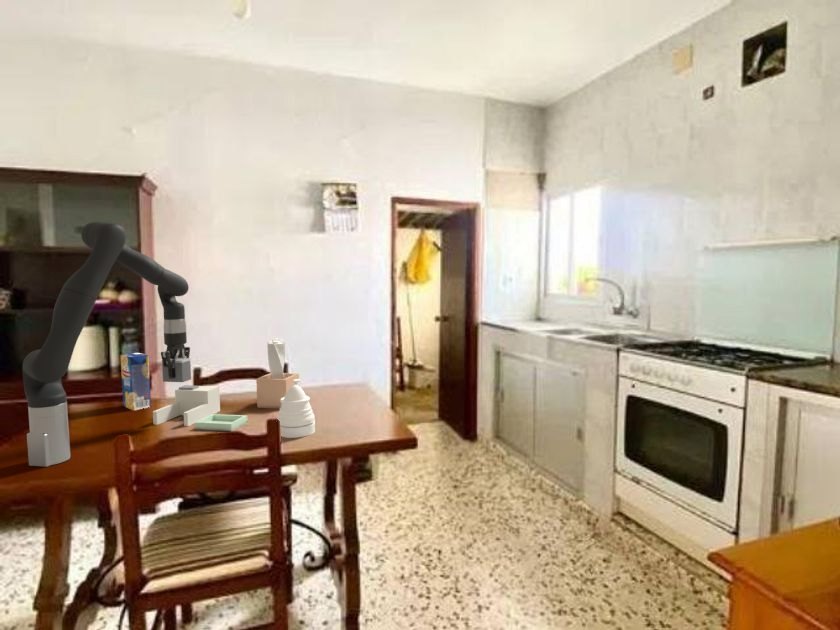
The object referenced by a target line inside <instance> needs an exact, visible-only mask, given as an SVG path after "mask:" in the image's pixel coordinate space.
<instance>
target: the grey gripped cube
mask: <svg viewBox="0 0 840 630" xmlns="http://www.w3.org/2000/svg"><path fill="white" fill-rule="evenodd" d="M171 360H173V359H171ZM191 361H192V360H191V358H190V357H189V358H184V359H181V358H178V359H177V360H176V362H175V378H169V376H168V368H166V367H164V366H163V361H162V360H161V366H162V368H161V369H162V382H163V383H164V382H165V383H185V382H188V381H190V380H192V370H191V369H192V368H191ZM167 363H168V362H166V364H167ZM171 364H172V362H171Z"/></svg>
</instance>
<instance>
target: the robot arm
mask: <svg viewBox="0 0 840 630" xmlns="http://www.w3.org/2000/svg"><path fill="white" fill-rule="evenodd" d="M80 235H81V240H82V242H83V243H84V245H85V246H86V247H88V249H91V252H90V254H89V257H88V258H87V260H86V261H85V262H84V263H83V265H82V266H81V267H79V269H78V270H76V271H75V272H74V273H73V274H72V275H70V277H69V278H68V279H67V281H65V283H64V285H63V286H62V288H61V291H60V292H59V295H58V296H57V298H56V301H55V304H54V308H53V313H52V320H51V327H50V330H49V333H48V335H47V338H46V340H45V342H44V343H43V346H42V347H41V349H36V350H33V351H30V352H29V353H28V354H27V355H26V356H25V358H24V359H23V361H22V380H23V388H24V389H23V390H24V394H25V398H26V400H27V409H28V422H29V423H28V425H29V432H28V433H26V443H27V456H28V466H31V467H33V466H34V467H50V466H53V465H57V464H61V463H63V462H66V461H68V460H70V458H71V446H70V445H71V444H70V443H71V442H70V429H69V416H68V414H69V412H68V401H67V392H66V391H65V389H64V386H63V383H62V382H63V381H62V377H64V376H65V374H66V373H67V371H68V369H69V366H70V363H71V360H72V357H73V354H74V351H75V347H76V344H77V342H78V339H79V337H80V336H81V333H82V331H83V329H84V327H85V325H86V323H87V321H88V319H89V316H90V314H91V312H92V311H93V308H94V306H95V304H96V302H97V299H98V297H99V295H100V292H101V290H102V287H103V285H104V283H105V282H106V280H107V277H108V275H109V273H110V271H111V269H112V267H113V265H114V264H115V262H118V263H120V264H121V265H122V266H124V267H126V268H128V269H129V270H130V271H132V272H134V273H135V274H136V275H138V276H139V277H141V278H142V279H143V280H145V281H147V282H148V283H149V284H152V285H154V286H157V293H158V296H159V297H158V298H159V299H160V302H161V305H162V308H163V326H162V327H163V344H164V345H165V346H166V350H165V351H161V352H160V356H161V362H162V361H163V366H164V367H166V368H168V376H169V378H175V362H176V360H177V359H178V358H181V359H184V358H190V354H191V353H190V352H191V347H190V346H185V344H187V343H188V342H187V341H188V340H187V339H188V338H187V324H186V323H187V322H186V316H185V315H186V313H185V312H186V310H185V305H184V304H183V303H181V302H179V301H177V299H176V297H183V296H184V295H186V294H187V293H188V292H189V284H188V281H187V280H186V279H185V278H184V277H182V276H181V275H180V274H177V273H176V272H174V271H171V270H170V269H166V268H165V267H163V266H162V265H161V264H159V263H158V262H156V260H154V259H152V258H151V257H149V256H148V255H146V254H144V253H142V252H139V251H137V250H135V249H133V248H131V247H130V246H129V245H126V240H127V236H126V232H125V229H124V227H122V226H121V225H119V224H117V223H112V222H108V221H107V222H105V221H92V222H91V221H90V222H88V223H87V224H85V225H84V226H83V227H82V229H81V233H80ZM171 359H173V360H171ZM166 362H168V363H167V364H166ZM171 362H172V364H171Z"/></svg>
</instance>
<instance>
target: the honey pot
mask: <svg viewBox="0 0 840 630" xmlns="http://www.w3.org/2000/svg"><path fill="white" fill-rule="evenodd" d="M293 381H294V384H295V385H292V386H291V387H290V388H289V389H288V391H287V393H286V395H285V397H283V398H281V399H280V402H281V403H282V405H281V408H279V412H278V416H277V418H276V420H277V419H278V420H279V421H280V425H281V434H282V437H281V438H287V439H292V438H293V439H294V438H303V437H306V436H310V435H313V434H314V433H315V432H316V419H315V418H316V417H315V414H314V410H313V409H312V406H311V404H310V400H311V397H310V396H308V395H306V393H305V391H304V390H303V388H302V387H301V386H300V384H301V382H302V379H300V378H299V379H295V380H293ZM298 385H299V386H298Z"/></svg>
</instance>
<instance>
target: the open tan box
mask: <svg viewBox="0 0 840 630" xmlns="http://www.w3.org/2000/svg"><path fill="white" fill-rule="evenodd" d="M283 373H284V379H270V376H271V372H270V373H268V374H265V375H262V376H260V377H258V378H255V380H256V383H255V384H256V402H257V403H256V405H257V407H256V408H259V409H260V408H262V409H280V408H281V405H282V403H281V402H280V399H281V398H283V397H285V395H286V393H287V391H288V389H289V388H290V387H291V386H292V385H295V384H294V381H293V380H295V379H300V374H299V373H293V372H292V373H290V372H288V376H289V377H287V372H283ZM298 386H300V384H299V385H298Z"/></svg>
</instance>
